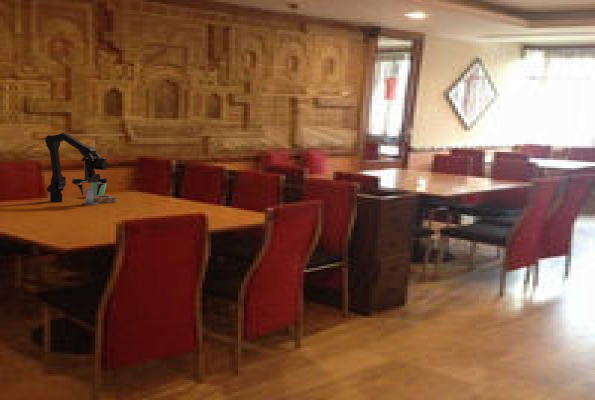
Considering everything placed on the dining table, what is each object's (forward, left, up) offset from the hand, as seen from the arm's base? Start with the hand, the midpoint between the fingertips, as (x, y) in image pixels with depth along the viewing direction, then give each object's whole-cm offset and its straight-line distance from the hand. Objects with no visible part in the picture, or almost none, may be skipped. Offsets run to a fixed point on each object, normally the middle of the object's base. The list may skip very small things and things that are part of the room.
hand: (89, 195), depth 371 cm
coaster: (0, 0, -5) cm, 5 cm away
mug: (+14, +33, -5) cm, 36 cm away
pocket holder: (+10, +8, -5) cm, 14 cm away
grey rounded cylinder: (0, 0, -5) cm, 5 cm away
